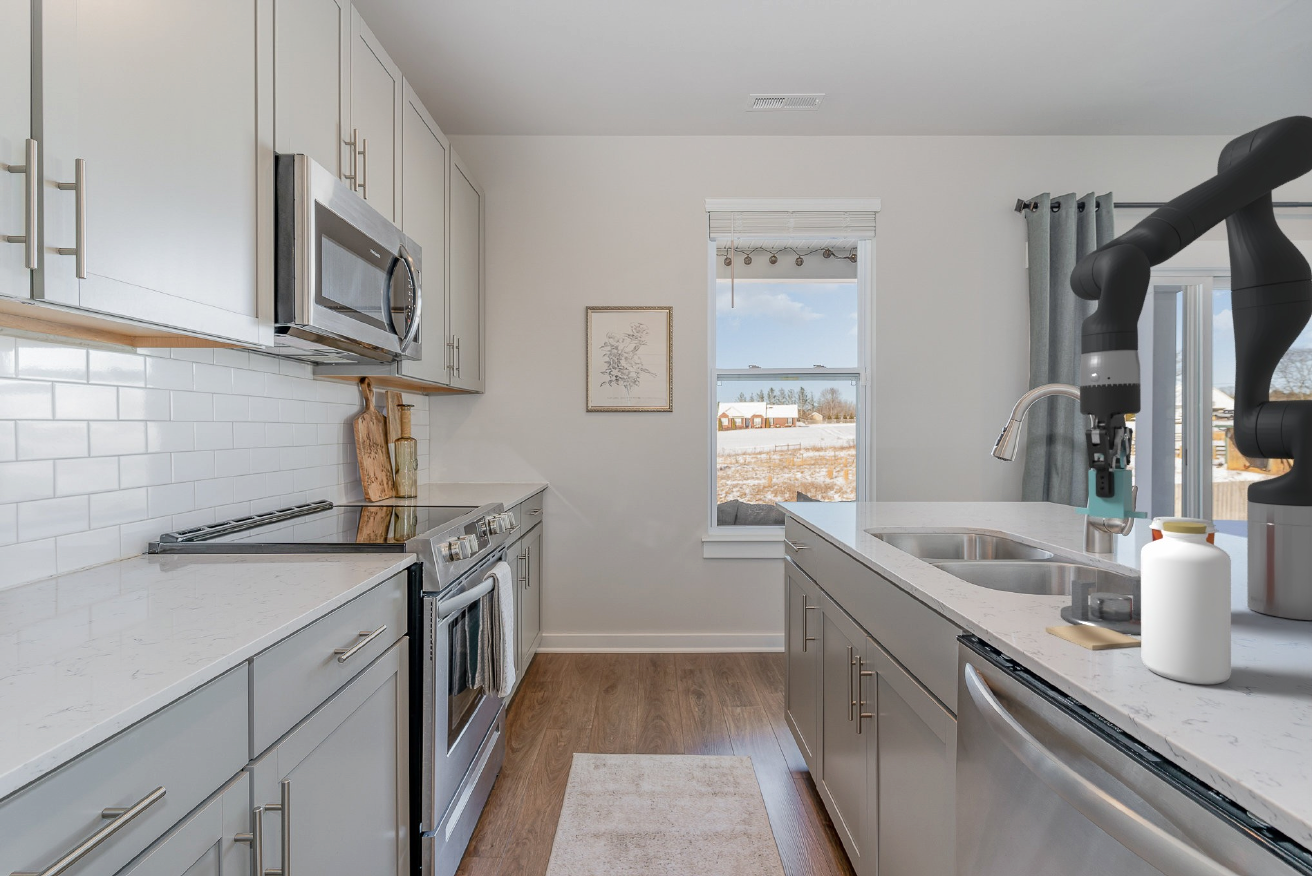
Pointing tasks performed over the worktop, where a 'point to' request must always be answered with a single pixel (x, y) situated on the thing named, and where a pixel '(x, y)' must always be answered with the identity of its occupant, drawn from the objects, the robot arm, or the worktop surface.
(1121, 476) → the teal block with tabs
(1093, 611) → the grey round stand
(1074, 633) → the coaster
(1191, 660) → the potion bottle
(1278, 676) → the worktop surface
